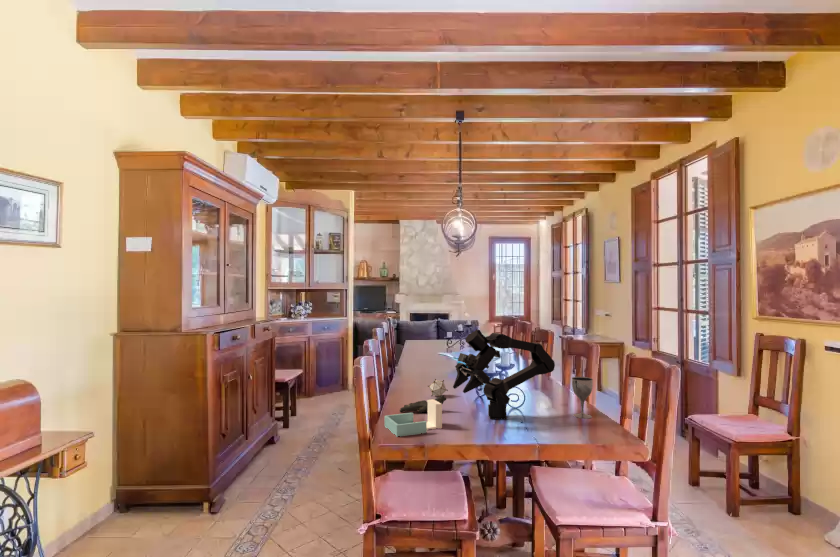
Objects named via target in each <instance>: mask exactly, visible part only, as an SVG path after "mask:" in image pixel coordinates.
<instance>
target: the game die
mask: <svg viewBox="0 0 840 557" xmlns="http://www.w3.org/2000/svg"><path fill="white" fill-rule="evenodd" d="M427 387H429V390H430V391H431V392H430V393H431V397H433V396H436V397H440V396H442V395H444V393H445V392H446V391H447V392H448V391H449V390H448V389H447V388H446V385H445V380H444V379H443V380H437V379H436V378H434V380H433V382H431V384H430V385H427Z"/></svg>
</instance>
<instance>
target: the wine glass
mask: <svg viewBox="0 0 840 557" xmlns="http://www.w3.org/2000/svg"><path fill="white" fill-rule="evenodd" d="M593 381H594V379H593V378H592V377H588V376H573V377H571V386H572V391H573V393H574V394H575V395H576V397H577V399H579V401H580V407H581V412H580V413H574V414H573V415H572V416H573V417H574V416H575V417H574V418H577V419H591V418H593V416H592V415H591V414H587V413H584V406H585V401H586V400H587V399H588V398H589V396H591V394H592V391H593V385H594V382H593Z"/></svg>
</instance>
